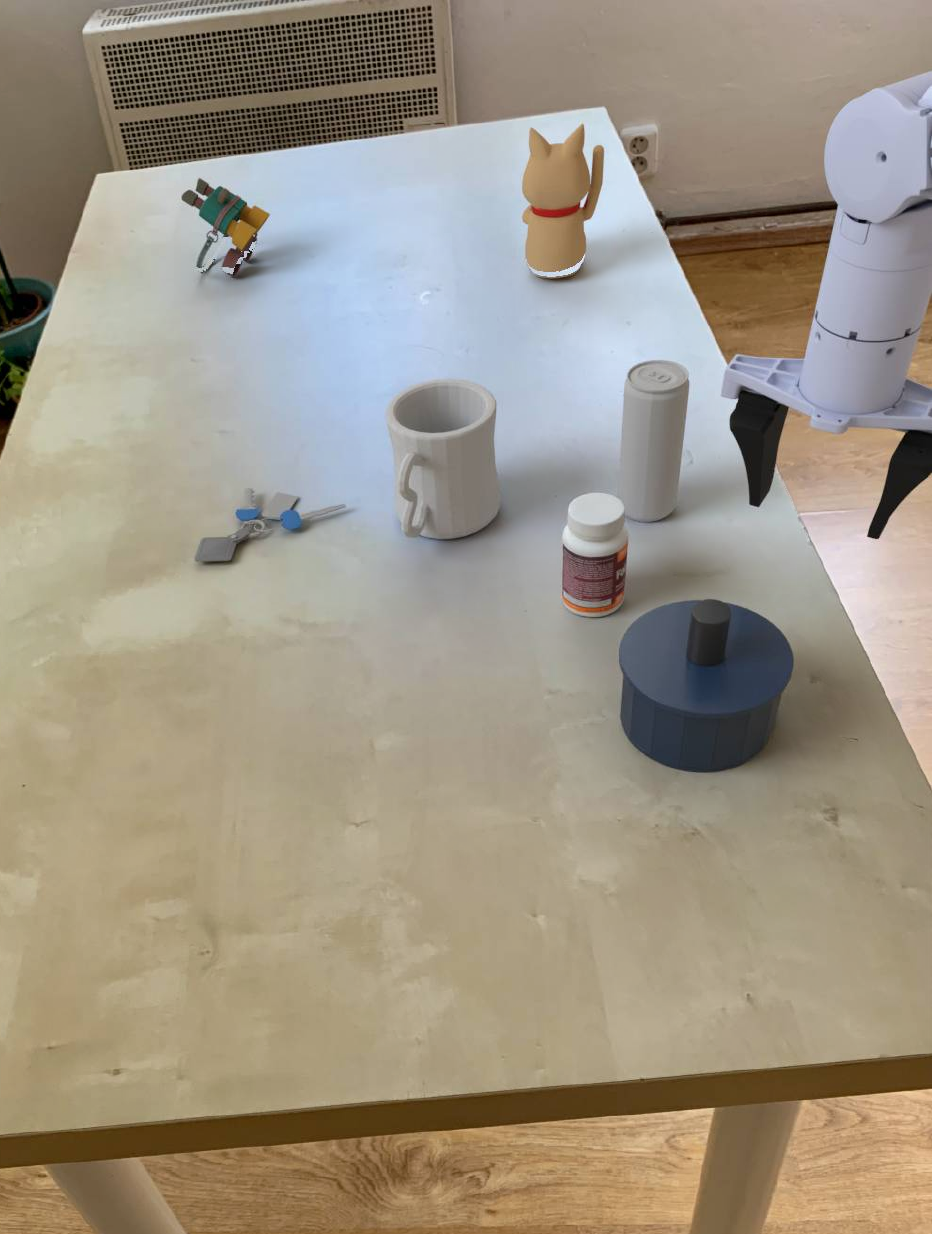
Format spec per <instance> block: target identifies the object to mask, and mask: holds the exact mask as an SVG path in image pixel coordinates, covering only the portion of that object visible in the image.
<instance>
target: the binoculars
mask: <svg viewBox="0 0 932 1234" xmlns="http://www.w3.org/2000/svg"><path fill="white" fill-rule="evenodd" d="M197 193H198V194H197ZM199 194H200V195H201V196H205V197H206V198H205V199H203V198H201V197H200V196H199ZM181 200H182V201H183V202H184V203H186V204H187V205H189V206H190V207H192V208H193V207H194V208H196V209H198V210H199V212H198V216H199V218H201V219H203V220H204V221H205V222H206V223H208V224H209V225H210V226H212V230H209V231H208V232H206V236H205V237H206V241H205V243H204V245H203V246H202V248H201V250H200V253H199V255H198V257H197V260H196V266H195V268H196V267H198V268H202V267H203V263H204V260H205V257H206V255H207V253H208V251H209V250H210V248H211V246H212V244H213V243H214V244H217V243H218V241H219V234H218V233H221V235H222V237H221V239H222V238H223V237H229V238H231V244H232V245H234V246H235V248H234V247H231V248H230V249H228V251H227V253H226V255H225V256H224V257H223V261H222V264H221V268H222V267H229V268H234V267H235V268H234V272H233V274H230V273H226V272H224V274H226V275H228V276H229V277H231V278H232V279H234V278H235V277H236V276H237V274H238V273H239V271H240V269H241V267H242V263H243V262H244V263H248V262H249V261H250V258H251V257H252V255H253V253H254V251H253V252H252V251H250V250H249V248H250V246H251V244H252V242H255V241H257V242H258V232H259V231H260V230H261V229H262V228H263V226H264V225H265V224H266V222H267V220H268V219H269V217H270V215H271V214H270V213H269V212H267V211H265V210H264V209H262V208H261V207H259V206H257V205H253V206H252V207H250V206H248V202H247V201H245V200H244V199H242V197H241V196H239V195H237V194H234V193H233V192H231V191H230V190H229V189H227V188H226V187H223V186H221V185H219V186H217V187H215V188H213V187H212V186H210V183H208V182H207V181H206V180H204V179H202V178H201V177H199V178H198V179H197V181H196V187H195V191H194V190H193V189H188V190H186V191H184V192H183V193H182V195H181ZM210 233H211V234H212V235H213V236H215V237H216V239H215V238H214V237H213V236H210ZM252 250H253V249H252ZM241 251H242V252H241ZM244 251H249V252H250V253H247V257H246V258H243V261H242V263H241V264H236V263H237V261H238V259H239V258H240V257H244ZM213 260H214V262H215V261H216V260H215V259H213ZM212 263H213V262H212ZM213 264H214V263H213ZM208 270H209V269H206V271H204V270H203V272H204V273H206V272H207V271H208ZM199 273H200V274H203V273H202V272H199Z"/></svg>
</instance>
